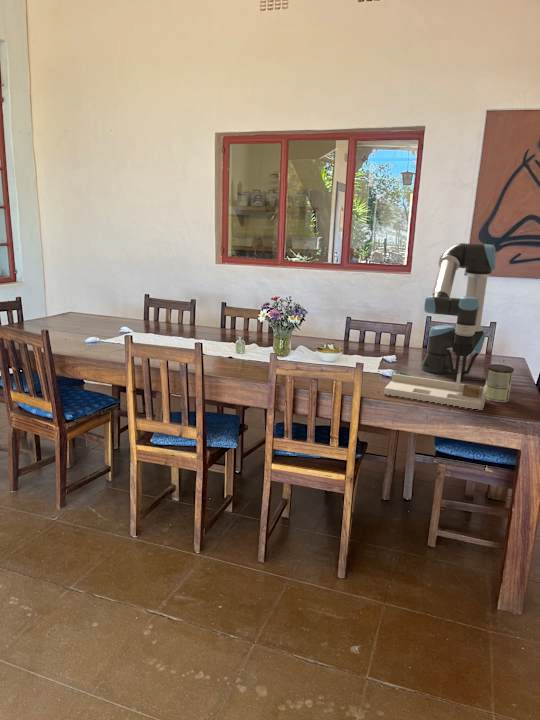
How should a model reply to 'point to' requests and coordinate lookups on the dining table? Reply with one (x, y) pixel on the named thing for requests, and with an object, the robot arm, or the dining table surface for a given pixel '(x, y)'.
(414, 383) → the box
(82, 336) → the dining table surface
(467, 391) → the block
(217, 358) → the dining table surface
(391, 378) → the sunglasses
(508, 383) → the coffee can
